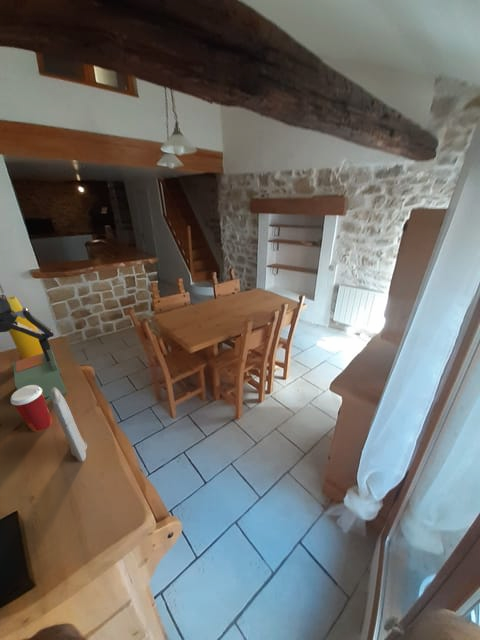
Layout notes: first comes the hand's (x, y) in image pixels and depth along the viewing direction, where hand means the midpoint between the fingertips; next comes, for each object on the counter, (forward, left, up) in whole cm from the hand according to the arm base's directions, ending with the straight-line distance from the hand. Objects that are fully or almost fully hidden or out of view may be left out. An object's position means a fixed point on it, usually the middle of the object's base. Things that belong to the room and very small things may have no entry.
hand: (19, 368), depth 70 cm
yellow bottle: (-36, +35, -24) cm, 56 cm away
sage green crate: (-15, +16, -24) cm, 33 cm away
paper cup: (-3, +1, -24) cm, 24 cm away
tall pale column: (+15, -6, -24) cm, 29 cm away
